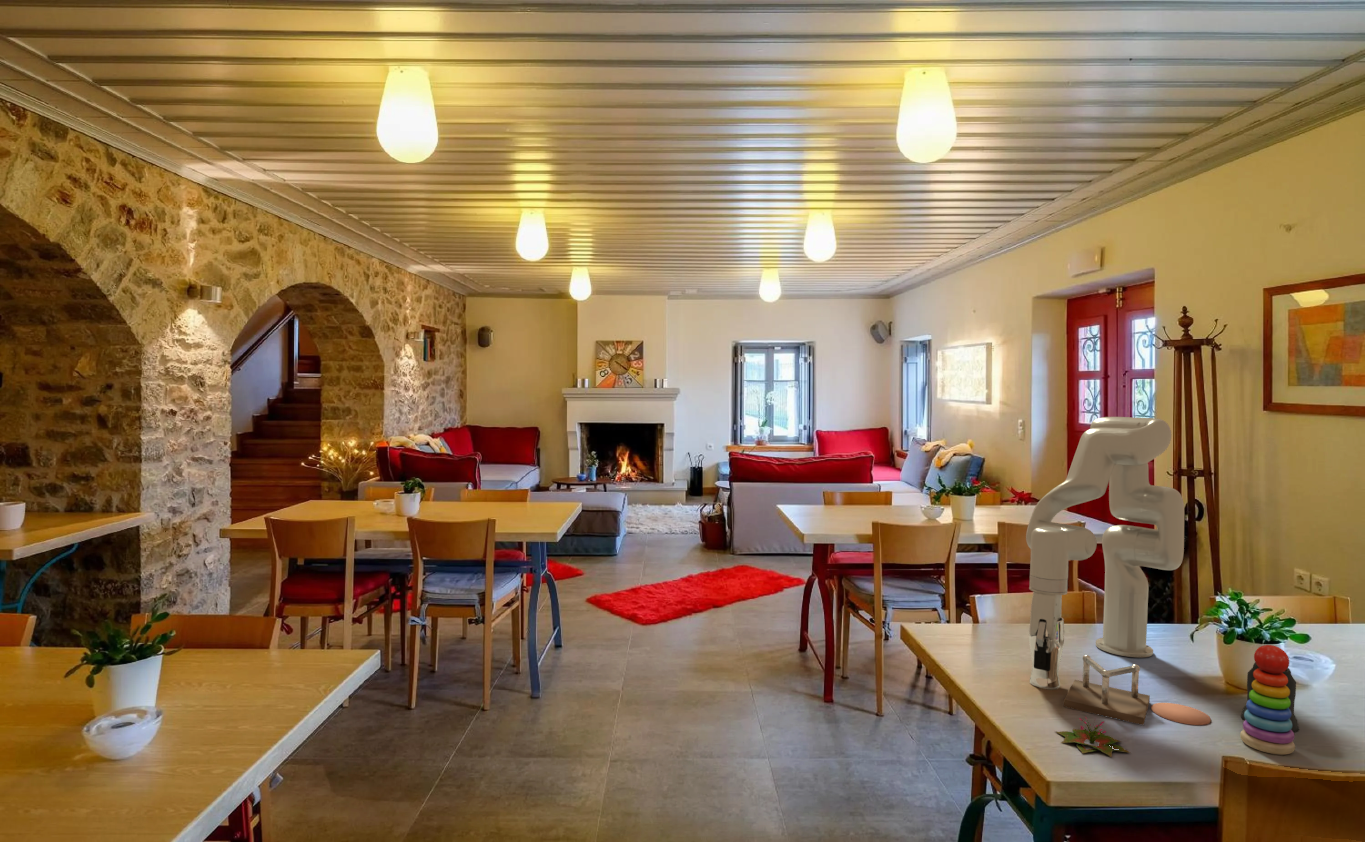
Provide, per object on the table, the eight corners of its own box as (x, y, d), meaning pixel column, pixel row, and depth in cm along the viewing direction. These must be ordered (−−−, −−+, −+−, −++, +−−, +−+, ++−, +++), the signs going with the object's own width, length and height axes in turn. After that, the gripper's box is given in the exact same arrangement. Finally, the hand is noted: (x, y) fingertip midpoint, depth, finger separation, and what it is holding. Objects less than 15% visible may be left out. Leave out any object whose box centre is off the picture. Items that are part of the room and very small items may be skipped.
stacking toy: (1228, 737, 141) (1233, 638, 141) (1268, 736, 142) (1272, 638, 141) (1265, 757, 133) (1269, 652, 133) (1306, 756, 134) (1311, 652, 133)
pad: (1153, 700, 158) (1153, 698, 158) (1211, 712, 152) (1211, 711, 152) (1149, 715, 150) (1149, 714, 150) (1210, 729, 144) (1210, 728, 144)
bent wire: (1082, 684, 162) (1083, 653, 162) (1139, 696, 156) (1140, 664, 156) (1074, 698, 154) (1076, 665, 154) (1134, 711, 148) (1136, 677, 148)
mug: (1299, 737, 142) (1302, 678, 141) (1239, 723, 147) (1241, 667, 147) (1299, 717, 151) (1301, 662, 150) (1242, 705, 157) (1245, 651, 156)
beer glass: (1066, 692, 162) (1069, 623, 161) (1031, 688, 163) (1034, 620, 163) (1057, 680, 168) (1059, 614, 168) (1023, 677, 170) (1026, 611, 169)
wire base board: (1074, 686, 165) (1074, 679, 165) (1149, 702, 157) (1149, 695, 157) (1063, 706, 154) (1063, 699, 153) (1143, 725, 145) (1143, 717, 145)
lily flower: (1078, 761, 131) (1079, 735, 131) (1042, 731, 143) (1043, 707, 143) (1145, 761, 132) (1146, 735, 132) (1103, 730, 144) (1104, 707, 144)
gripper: (1037, 574, 174) (1034, 650, 175) (1021, 589, 160) (1018, 671, 161) (1073, 580, 170) (1070, 657, 170) (1060, 595, 156) (1057, 680, 156)
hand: (1045, 664), depth 166 cm, fingers open, 6 cm apart
